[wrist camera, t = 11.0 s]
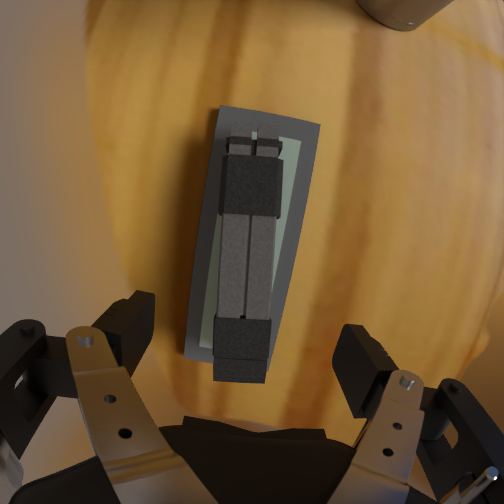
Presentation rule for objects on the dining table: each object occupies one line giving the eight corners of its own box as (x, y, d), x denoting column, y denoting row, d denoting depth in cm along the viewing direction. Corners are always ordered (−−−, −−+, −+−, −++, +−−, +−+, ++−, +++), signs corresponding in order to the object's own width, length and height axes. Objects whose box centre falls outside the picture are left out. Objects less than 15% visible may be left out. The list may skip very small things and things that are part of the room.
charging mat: (221, 108, 24) (220, 104, 23) (317, 126, 25) (320, 123, 23) (185, 353, 30) (183, 359, 28) (267, 365, 30) (267, 372, 29)
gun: (216, 359, 28) (206, 394, 18) (229, 168, 30) (226, 118, 20) (261, 362, 28) (272, 397, 18) (271, 171, 30) (285, 123, 20)
